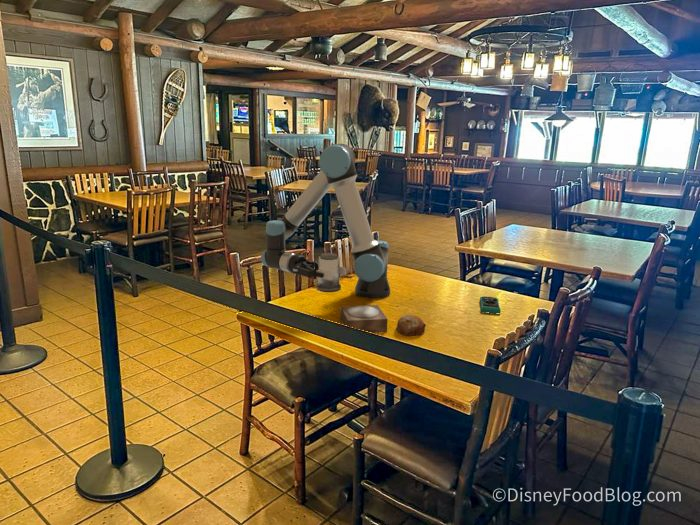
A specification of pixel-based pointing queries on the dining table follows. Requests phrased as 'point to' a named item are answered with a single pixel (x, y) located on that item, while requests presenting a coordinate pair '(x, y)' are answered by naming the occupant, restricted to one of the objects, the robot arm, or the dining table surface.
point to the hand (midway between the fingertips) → (338, 274)
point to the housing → (332, 265)
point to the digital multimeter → (489, 304)
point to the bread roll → (410, 326)
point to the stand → (364, 318)
